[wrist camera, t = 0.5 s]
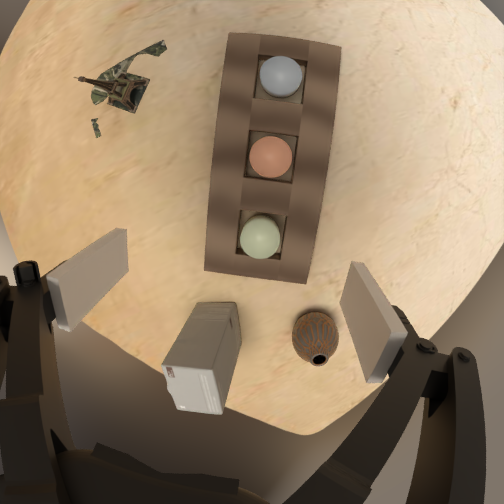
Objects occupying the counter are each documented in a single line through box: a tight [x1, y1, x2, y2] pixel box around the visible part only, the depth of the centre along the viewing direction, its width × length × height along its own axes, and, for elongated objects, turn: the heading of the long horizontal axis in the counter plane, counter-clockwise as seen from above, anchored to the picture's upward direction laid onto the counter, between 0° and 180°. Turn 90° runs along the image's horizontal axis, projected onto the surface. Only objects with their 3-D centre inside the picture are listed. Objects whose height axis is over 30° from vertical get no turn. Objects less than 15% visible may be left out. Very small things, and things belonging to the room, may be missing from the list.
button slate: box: [260, 56, 302, 98], centre depth 29 cm, size 5×5×3 cm
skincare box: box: [161, 302, 241, 414], centre depth 37 cm, size 8×7×16 cm
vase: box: [292, 312, 339, 366], centre depth 39 cm, size 7×7×9 cm
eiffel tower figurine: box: [74, 40, 167, 138], centre depth 27 cm, size 15×10×13 cm
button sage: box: [240, 215, 280, 259], centre depth 36 cm, size 5×5×3 cm
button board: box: [204, 33, 341, 284], centre depth 34 cm, size 32×14×2 cm, turn 174°
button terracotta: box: [249, 136, 292, 178], centre depth 32 cm, size 5×5×3 cm
